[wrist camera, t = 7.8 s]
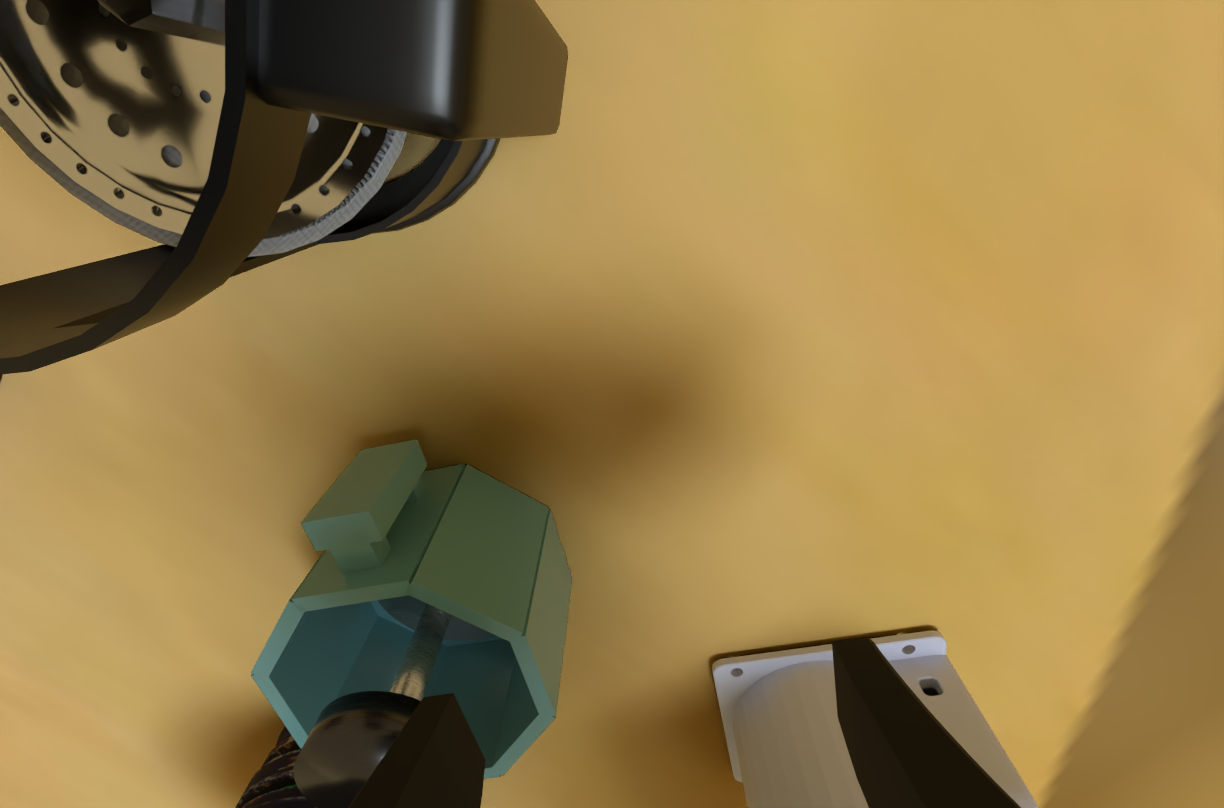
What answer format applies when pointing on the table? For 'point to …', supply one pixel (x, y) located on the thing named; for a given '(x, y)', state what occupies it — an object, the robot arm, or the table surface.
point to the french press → (249, 135)
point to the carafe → (426, 598)
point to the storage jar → (276, 779)
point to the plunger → (375, 710)
